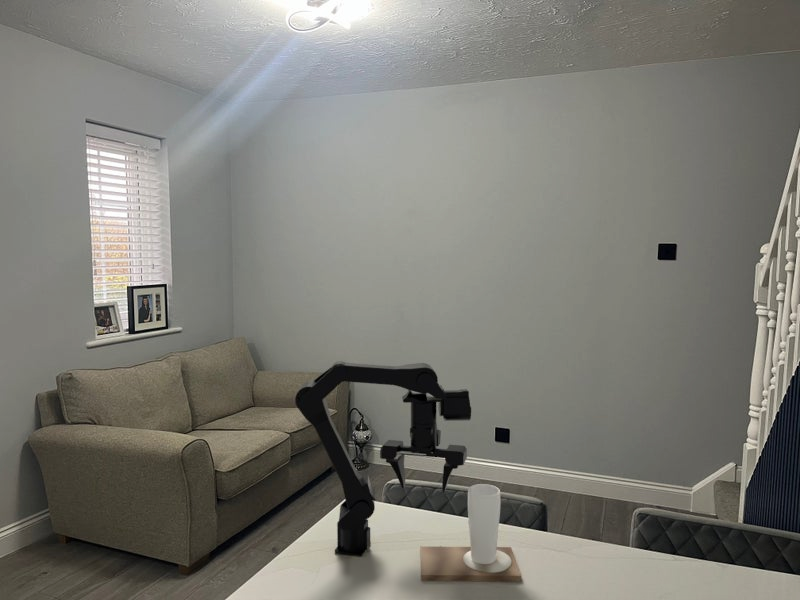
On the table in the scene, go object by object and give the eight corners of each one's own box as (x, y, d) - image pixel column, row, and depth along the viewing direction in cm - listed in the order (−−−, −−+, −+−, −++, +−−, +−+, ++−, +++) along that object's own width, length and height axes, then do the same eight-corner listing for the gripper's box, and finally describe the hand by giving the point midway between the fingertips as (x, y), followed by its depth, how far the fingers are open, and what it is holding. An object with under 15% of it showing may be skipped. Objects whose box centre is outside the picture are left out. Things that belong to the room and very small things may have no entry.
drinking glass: (492, 570, 120) (492, 498, 119) (461, 562, 124) (462, 491, 123) (504, 556, 126) (505, 487, 125) (475, 548, 130) (475, 481, 129)
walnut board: (421, 580, 119) (421, 574, 119) (420, 551, 131) (420, 545, 131) (521, 581, 119) (521, 574, 119) (511, 552, 131) (511, 546, 131)
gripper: (470, 414, 137) (470, 481, 138) (392, 409, 142) (393, 473, 143) (463, 427, 127) (462, 499, 128) (379, 421, 132) (379, 491, 132)
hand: (423, 489), depth 133 cm, fingers open, 9 cm apart
